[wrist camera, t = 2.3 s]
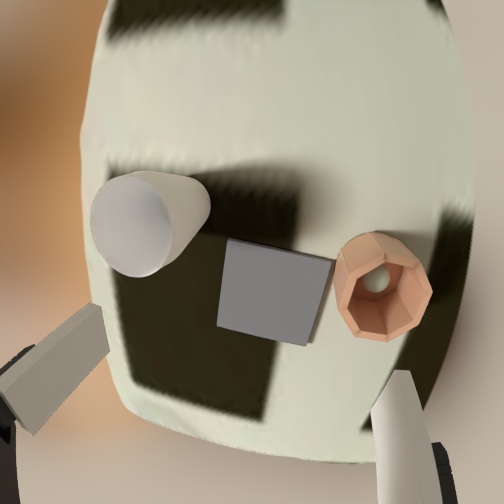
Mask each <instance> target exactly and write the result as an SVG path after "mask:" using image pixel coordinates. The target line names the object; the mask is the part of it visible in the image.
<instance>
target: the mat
mask: <svg viewBox="0 0 504 504" xmlns="http://www.w3.org/2000/svg"><path fill="white" fill-rule="evenodd" d="M331 263H332V261H331V260H329V259H325V258H320V257H316V256H311V255H307V254H302V253H297V252H293V251H288V250H284V249H279V248H274V247H270V246H265V245H260V244H256V243H251V242H246V241H242V240H237V239H232V238H229V239H228V241H227V248H226V255H225V263H224V271H223V279H222V286H221V295H220V303H219V311H218V320H217V326H220V327H224V328H227V329H231V330H235V331H239V332H243V333H247V334H251V335H255V336H259V337H264V338H268V339H272V340H277V341H281V342H286V343H291V344H296V345H300V346H305V347H306V345H307V342H308V339H309V336H310V333H311V330H312V327H313V324H314V321H315V317H316V314H317V311H318V308H319V305H320V301H321V298H322V295H323V291H324V288H325V284H326V281H327V277H328V274H329V270H330V267H331Z"/></svg>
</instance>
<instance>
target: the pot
mask: <svg viewBox="0 0 504 504" xmlns="http://www.w3.org/2000/svg"><path fill="white" fill-rule="evenodd" d="M381 264H382V265H384V266H385V267H386V268H387V269H388V271H389V274H390V281H389V284H388V286H387V287H386V288H385V289H384V290H383V291H381V292H371V291H369V290H367V289H366V288H365V287H364V285H363V283H362V276H363V275H364V274H366V273H368V272H369V271H371V270H373V269H374V268H376V267H378V266H379V265H381ZM333 283H334V289H335V295H336V301H337V308H338V311H339V312H340V314H341V316H342V317H343V319H344V320H345V322H346V324H347V325H348V327H349V329H350V330H351V332H352V333H353V335H354V337H359V338H365V339H371V340H377V341H383V342H388V341H390V340H392V339H394V338H396V337H398V336H399V335H401V334H403V333H405V332H406V331H408V330H410V329H412V328H413V327H415V326H417V325H418V324H419V322H420V320H421V318H422V316H423V314H424V311H425V309H426V307H427V305H428V302H429V300H430V297H431V295H432V293H433V291H432V288H431V286H430V283H429V281H428V278H427V276H426V273H425V271H424V268H423V266H422V264H421V261H420V260H419V259H418V258H417V257H416V256H415V255H414V254H413V253H412V252H411V251H410V250H409V249H408V248H407V247H406V246H405V245H404V244H403V243H402V242H401V241H400V240H399V239H396V238H392V237H390V236H388V235H386V234H383V233H379V232H368V233H364V234H361V235H358V236H356V237H354V238H353V239H351V240H350V241H349V242H348V243H347V244H346V245H345V246H344V247H343V248H342V249H341V251H340V253H339V255H338V257H337V260H336V264H335V273H334V276H333Z"/></svg>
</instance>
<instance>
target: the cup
mask: <svg viewBox="0 0 504 504" xmlns="http://www.w3.org/2000/svg"><path fill="white" fill-rule="evenodd" d="M210 207H211V203H210V197H209V194H208V192H207V190H206V189H205V187H204V186H203V185H202V184H201V183H200V182H199V181H197V180H196V179H193V178H191V177H185V176H179V175H173V174H167V173H160V172H153V171H138V172H134V173H131V174H127V175H123V176H119V177H116V178H113V179H111V180H109V181H108V182H106V183H105V184H104V185H103V186H102V187H101V188H100V190H99V191H98V192H97V194H96V196H95V198H94V201H93V204H92V208H91V214H90V225H91V232H92V236H93V239H94V242H95V245H96V247H97V249H98V251H99V252H100V254H101V256H102V257H103V258H104V260H105V261H106V262H107V263H108V264H109V265H110V266H111V267H112V268H114V269H115V270H117V271H118V272H120V273H122V274H124V275H127V276H131V277H144V276H148V275H150V274H153V273H154V272H156V271H157V270H159V269H160V268H162V267H163V266H165V265H167V264H169V263H170V262H172V261H173V260H175V259H176V258H177V257H178V256H179V255H180V254H181V252H182V251H183V250H184V248H185V247H186V246H187V245H188V243H189V242H190V241H191V239H192V238H193V237H194V236H195V234H196V233H197V232H198V231H199V229H200V228H201V227H202V225H203V224H204V223H205V222H206V220H207V218H208V216H209V213H210Z"/></svg>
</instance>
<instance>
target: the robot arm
mask: <svg viewBox="0 0 504 504" xmlns="http://www.w3.org/2000/svg"><path fill="white" fill-rule="evenodd" d="M109 352H110V348H109V344H108V340H107V335H106V330H105V325H104V320H103V315H102V309H101V306H98V305H95V304H93V303H90V302H89V303H88V304H87V305H85V306H84V307H83V308H81V309H80V310H79V311H78V312H76V313H75V314H74V315H73V316H71V317H70V318H69V319H68V320H66V321H65V322H64V323H63V324H61V325H60V326H59V327H57V328H56V329H55V330H54V331H53V332H51V333H50V334H49V335H48V336H46V337H45V338H44V339H43V340H42V341H40V342H39V343H38V344H37V345H35V344H33V345H31V346H29V347H26V348H24V349H23V350H22V351H21V352H20V353H18V354H17V356H15V357H14V358H13V359H11V361H9V362H8V363H7V364H6V365H4V366H3V367H2V368H1V369H0V504H20V498H19V490H18V480H17V468H16V425H15V423H14V421H15V420H16V419H17V421H18V422H19V424H20V425H21V426H22V427H23V428H24V429H25V430H26V431H27V432H28V433H29V434H31V435H32V436H34V435H35V434H36V433H37V432H38V431H39V430H40V428H41V427H42V426H43V425H44V424H45V423H46V421H47V420H48V419H49V418H50V417H51V416H52V415H53V413H54V412H55V411H56V410H57V409H58V408H59V407H60V405H61V404H62V403H63V402H64V401H65V400H66V399H67V397H68V396H69V395H70V394H71V393H72V392H73V391H74V390H75V388H76V387H77V386H78V385H79V384H80V383H81V382H82V381H83V380H84V379H85V377H86V376H87V375H88V374H89V373H90V372H91V371H92V370H93V369H94V368H95V367H96V366H97V364H98V363H99V362H100V361H101V360H102V359H103V358H104V357H105V356H106V355H107V354H108V353H109ZM371 419H372V427H373V436H374V446H375V457H376V469H377V486H378V504H458V501H457V495H456V490H455V485H454V480H453V475H452V474H451V472H452V471H451V466H450V465H449V463H450V462H449V458H448V454H447V451H446V450H445V448H444V447H443V445H442V444H441V442H436V443H431V441H430V437H429V433H428V429H427V425H426V422H425V418H424V415H423V411H422V408H421V404H420V401H419V398H418V394H417V391H416V388H415V385H414V382H413V379H412V376H411V373H410V371H404V370H394V372H393V374H392V375H391V377H390V379H389V381H388V383H387V384H386V386H385V388H384V390H383V391H382V393H381V395H380V396H379V398H378V400H377V401H376V403H375V405H374V406H373V408H372V409H371Z"/></svg>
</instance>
